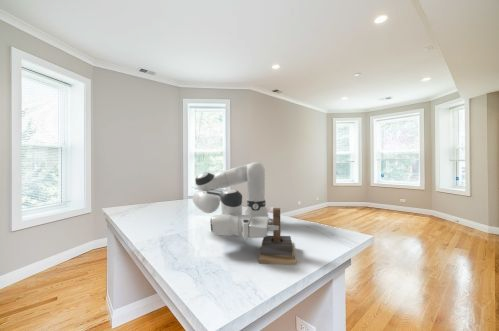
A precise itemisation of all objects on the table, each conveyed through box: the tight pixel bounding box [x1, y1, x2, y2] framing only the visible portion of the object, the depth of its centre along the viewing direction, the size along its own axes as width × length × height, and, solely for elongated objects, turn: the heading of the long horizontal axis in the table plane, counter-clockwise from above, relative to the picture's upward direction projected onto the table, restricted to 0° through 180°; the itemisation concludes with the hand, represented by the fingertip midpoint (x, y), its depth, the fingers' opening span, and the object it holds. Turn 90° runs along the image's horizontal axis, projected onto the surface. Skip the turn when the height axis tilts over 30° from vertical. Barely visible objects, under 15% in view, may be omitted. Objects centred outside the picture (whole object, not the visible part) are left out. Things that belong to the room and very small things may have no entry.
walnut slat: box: [272, 207, 281, 242], centre depth 99 cm, size 3×3×16 cm
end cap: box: [258, 235, 297, 266], centre depth 99 cm, size 24×14×5 cm, turn 174°
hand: (278, 226), depth 99 cm, fingers closed on walnut slat, 3 cm apart
